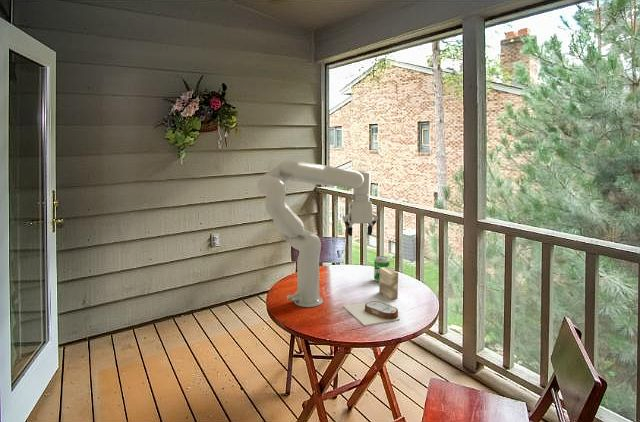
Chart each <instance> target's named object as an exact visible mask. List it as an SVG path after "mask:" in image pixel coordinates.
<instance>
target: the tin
mask: <svg viewBox="0 0 640 422" xmlns="http://www.w3.org/2000/svg"><path fill="white" fill-rule="evenodd" d="M365 303H366V304H365V312H367V313H369V314H372V315H374V316H377V317H380V318H382V319H395V318H397V317H398V318H399V309H398V308H397V307H395V306H393V305H390V304H387V303H384V302H381V301H377V300H376V301H373V300H372V301H369V303H368V302H365Z"/></svg>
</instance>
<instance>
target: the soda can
mask: <svg viewBox="0 0 640 422" xmlns="http://www.w3.org/2000/svg"><path fill="white" fill-rule="evenodd" d="M373 262H374V268H373V271H374V273H373V279H374V281H375V282H377V283H379V282H380V268H381V267H389V268H390V258H389V257H388V256H384V255H380V256H378V255H377V256H376V257H375V258H374V261H373Z"/></svg>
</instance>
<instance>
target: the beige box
mask: <svg viewBox="0 0 640 422" xmlns="http://www.w3.org/2000/svg"><path fill="white" fill-rule="evenodd" d="M378 284H379V286H378V287H379V289H378V292H379V293H380V294H381V295H382V296H384V297H385V298H386V299H388V300H389V301H391V300H397V299H398V294H399V272H397V271H396V270H394V269H392V268H391V267H390V266H389V267H381V268H380V282H378Z"/></svg>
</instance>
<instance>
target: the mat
mask: <svg viewBox="0 0 640 422" xmlns="http://www.w3.org/2000/svg"><path fill="white" fill-rule="evenodd" d="M369 302H370V301H369ZM369 302H364V303H355V304H351V305H350V304H349V305H343V308H344V309H345V310H346V312H348V313H349V314H350V315H351V316H352V317H354V318H355V319H356V320H357V321H358V322H359V323H360V324H362V325H363V327H366V326H367V327H368V326H373V325H379V324H386V323H390V322H396V321H397V322H398V321H400V320H401V319H400V318H399V316H398V317H397V318H395V319H382V318H380V317H377V316H374V315H372V314H369V313H367V312H365V304H366V303H369Z"/></svg>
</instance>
